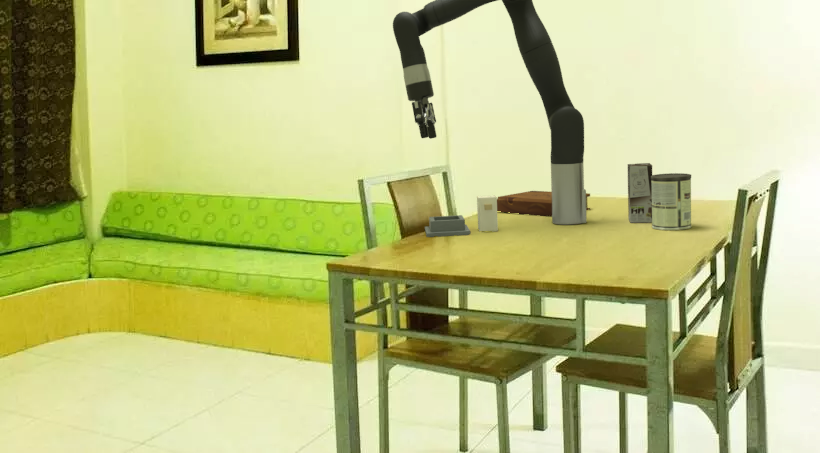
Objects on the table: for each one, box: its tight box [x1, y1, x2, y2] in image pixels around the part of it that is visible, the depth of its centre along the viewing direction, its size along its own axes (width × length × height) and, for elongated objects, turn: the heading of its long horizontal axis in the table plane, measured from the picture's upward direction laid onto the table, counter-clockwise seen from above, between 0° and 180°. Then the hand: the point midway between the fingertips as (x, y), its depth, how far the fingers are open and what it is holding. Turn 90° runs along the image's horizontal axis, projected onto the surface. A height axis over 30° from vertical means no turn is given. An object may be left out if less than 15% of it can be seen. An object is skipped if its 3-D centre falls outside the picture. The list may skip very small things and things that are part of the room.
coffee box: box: [627, 162, 653, 224], centre depth 243 cm, size 9×6×16 cm
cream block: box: [476, 194, 499, 232], centre depth 239 cm, size 5×6×10 cm
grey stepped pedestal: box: [424, 214, 471, 238], centre depth 240 cm, size 12×13×4 cm
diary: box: [497, 190, 591, 218], centre depth 273 cm, size 23×19×6 cm
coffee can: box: [651, 172, 692, 231], centre depth 228 cm, size 10×10×14 cm
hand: (429, 137), depth 246 cm, fingers open, 8 cm apart
